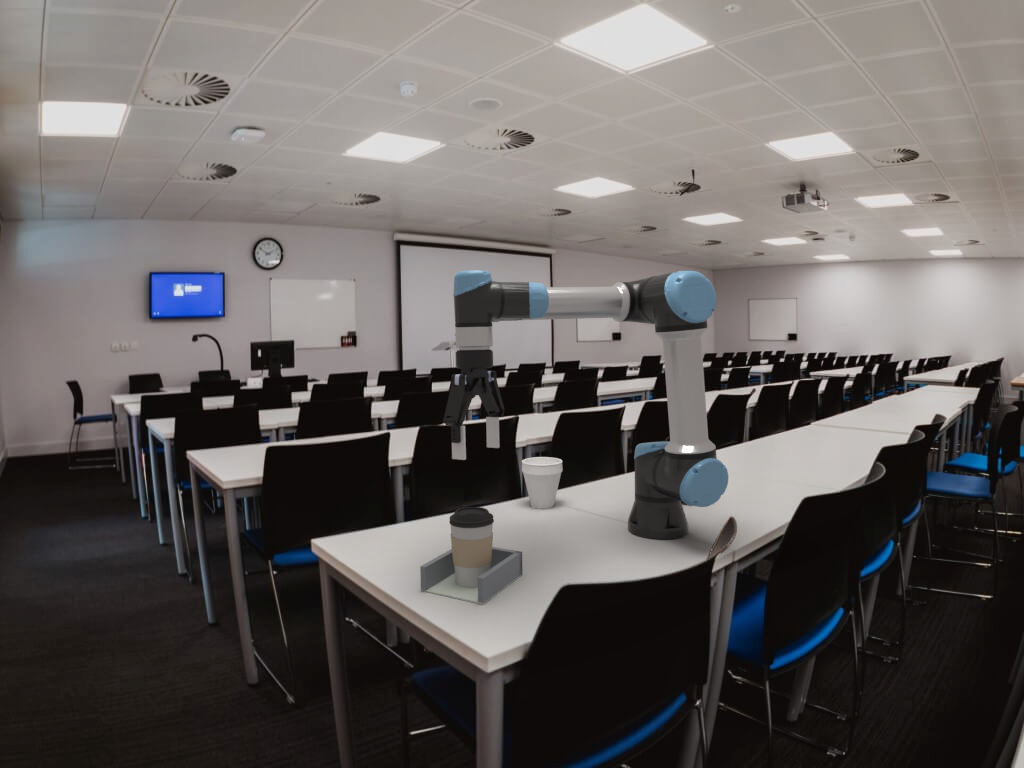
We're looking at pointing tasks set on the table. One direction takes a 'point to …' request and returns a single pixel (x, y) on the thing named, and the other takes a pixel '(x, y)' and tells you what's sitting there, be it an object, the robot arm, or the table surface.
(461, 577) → the coffee cup
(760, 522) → the table surface
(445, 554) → the u rest
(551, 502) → the cup
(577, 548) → the table surface
